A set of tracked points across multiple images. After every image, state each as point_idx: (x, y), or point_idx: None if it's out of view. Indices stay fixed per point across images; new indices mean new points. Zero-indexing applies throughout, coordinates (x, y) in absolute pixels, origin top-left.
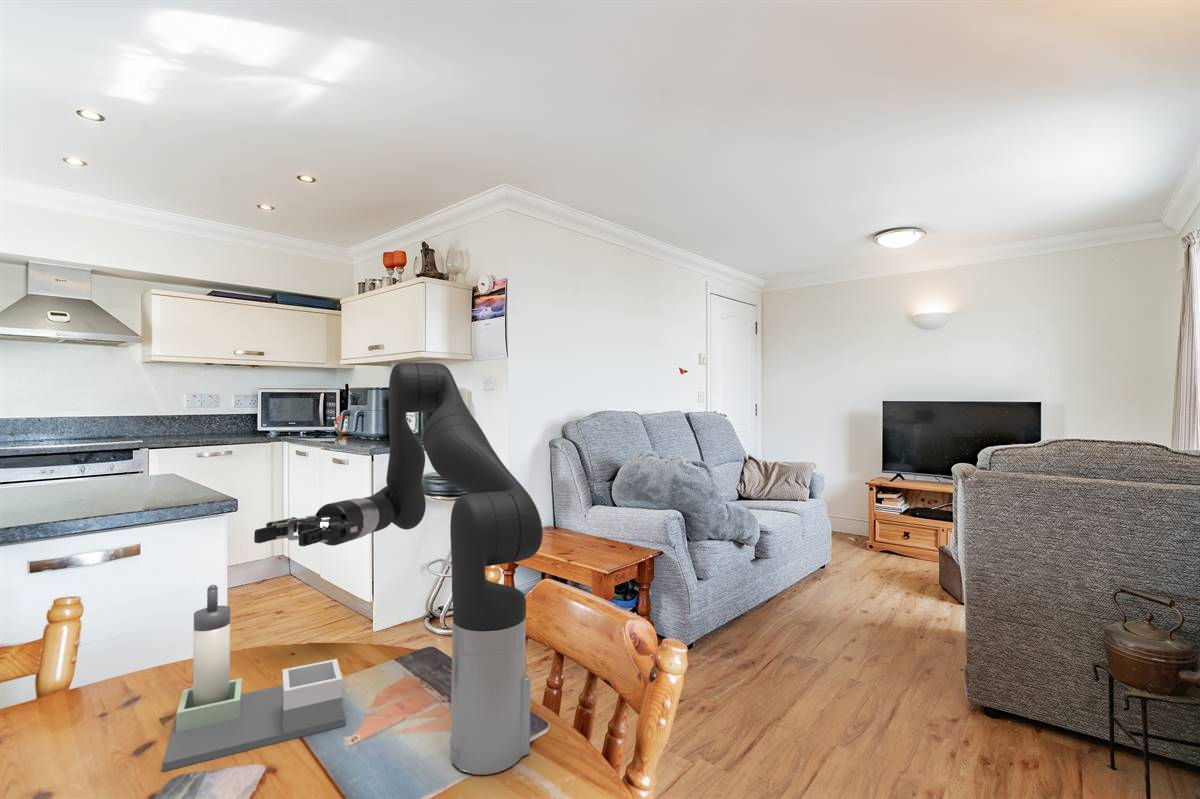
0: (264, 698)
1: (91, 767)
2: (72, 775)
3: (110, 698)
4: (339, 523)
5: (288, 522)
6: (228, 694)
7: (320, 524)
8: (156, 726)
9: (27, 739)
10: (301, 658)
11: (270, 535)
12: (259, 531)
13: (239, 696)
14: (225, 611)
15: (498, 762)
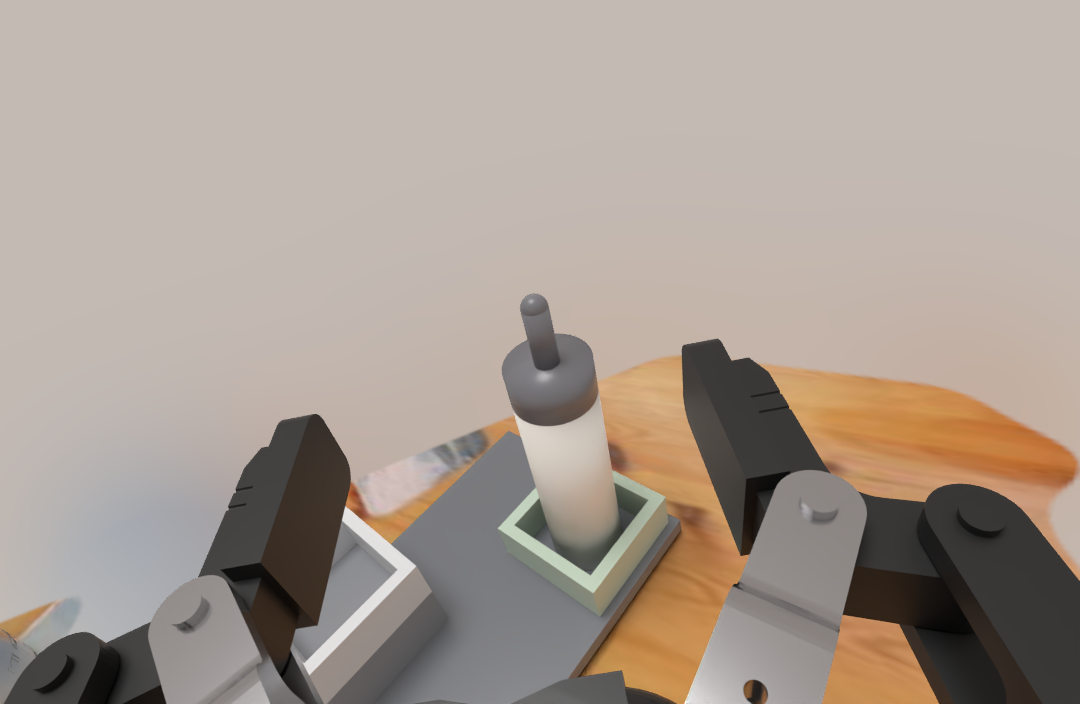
0: (527, 632)
1: (629, 406)
2: (631, 390)
3: (924, 501)
4: None
5: (737, 584)
6: (553, 537)
7: (260, 663)
8: (673, 493)
9: (825, 386)
10: None
11: (721, 473)
12: (686, 355)
13: (511, 535)
14: (505, 374)
15: None
